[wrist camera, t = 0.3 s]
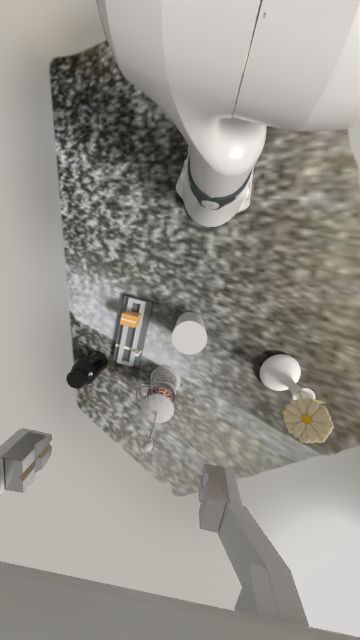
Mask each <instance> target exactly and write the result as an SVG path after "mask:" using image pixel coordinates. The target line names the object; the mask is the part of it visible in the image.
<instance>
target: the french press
mask: <svg viewBox="0 0 360 640" xmlns="http://www.w3.org/2000/svg"><path fill="white" fill-rule="evenodd" d="M180 381H181V379H180V375H179V373H178V372H177V371H176V370H175V369H174V368H172V367H170V366H159V367H157V368H155V369H154V370H153V371H152V373H151V375H150V381H144V382H151V383H150V386H143V387H149V390H148V393H147V397H146V395H145V397H144V396H142V395H141V394H140V392H139V389H140V388H142V387H140V388H139V386H140V384H142V383H144V382H142V383H140V384H139V385H138V387H137V391H138V392H139V394H140V395H141V396H142V397H144V401H143V402H141V401H140V400H139V399H138V397H137V391H136V398H137V399H138V401H140V402H141V403H142V407H141V410H142V413H143V415H144V416H145V418H146V419H147V420H149V421H151V422H153V426H154V423H164V422H166V421H168V420H169V419H170V418H171V417H172V415H173V412H174V407H173V402H174V399H175V393H176V390H177V388H178V387H179V385H180ZM138 388H139V389H138ZM153 426H152V430H153ZM152 430H151V434H152ZM151 434H150V437H149V441H148V440H147V441H145V442H144V444H143V449H144V450H145V451H150V450H151V449H152V447H153V443H152V442H151V441H150V438H151Z"/></svg>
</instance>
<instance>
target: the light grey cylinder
mask: <svg viewBox="0 0 360 640" xmlns="http://www.w3.org/2000/svg"><path fill="white" fill-rule="evenodd" d="M172 342H173V344H174V346H175V348H176V349H177V350H178V351H180V352H181V353H184V354H189V355H190V354H196V353H198V352H200V351H201V350H202V349H203V348H204V347H205V345H206V342H207V333H206V330H205V326H204V322H203V320H202V318H201V317H200V316H199V315H198V314H197V313H194V312H186V313H183V314H182V315H180V316H179V318H178V319H177V322H176V325H175V328H174V330H173V333H172Z"/></svg>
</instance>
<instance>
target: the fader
mask: <svg viewBox="0 0 360 640" xmlns="http://www.w3.org/2000/svg"><path fill="white" fill-rule="evenodd" d="M140 318H141V314H140V313H136V312H132V311H128V310H127V311H125V312H123V313H122V316H121V321H120V324H121V325H125V326H129V327H133V328H135V327H137V326H138V325H139V323H140Z"/></svg>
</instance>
